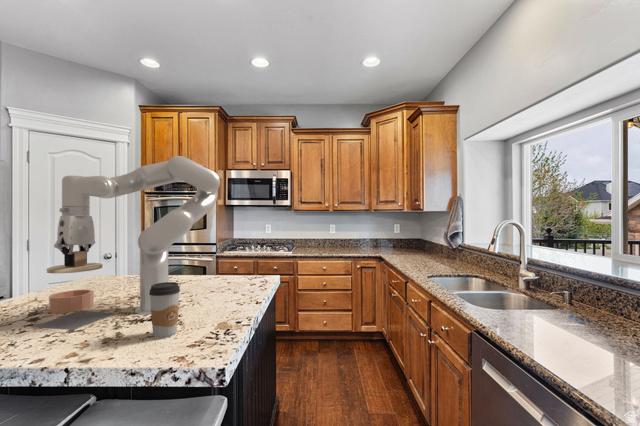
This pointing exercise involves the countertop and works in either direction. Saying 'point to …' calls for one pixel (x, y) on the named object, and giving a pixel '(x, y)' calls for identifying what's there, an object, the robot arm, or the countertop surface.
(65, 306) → the bowl
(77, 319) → the mat
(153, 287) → the coffee cup
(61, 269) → the lid
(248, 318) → the countertop surface
